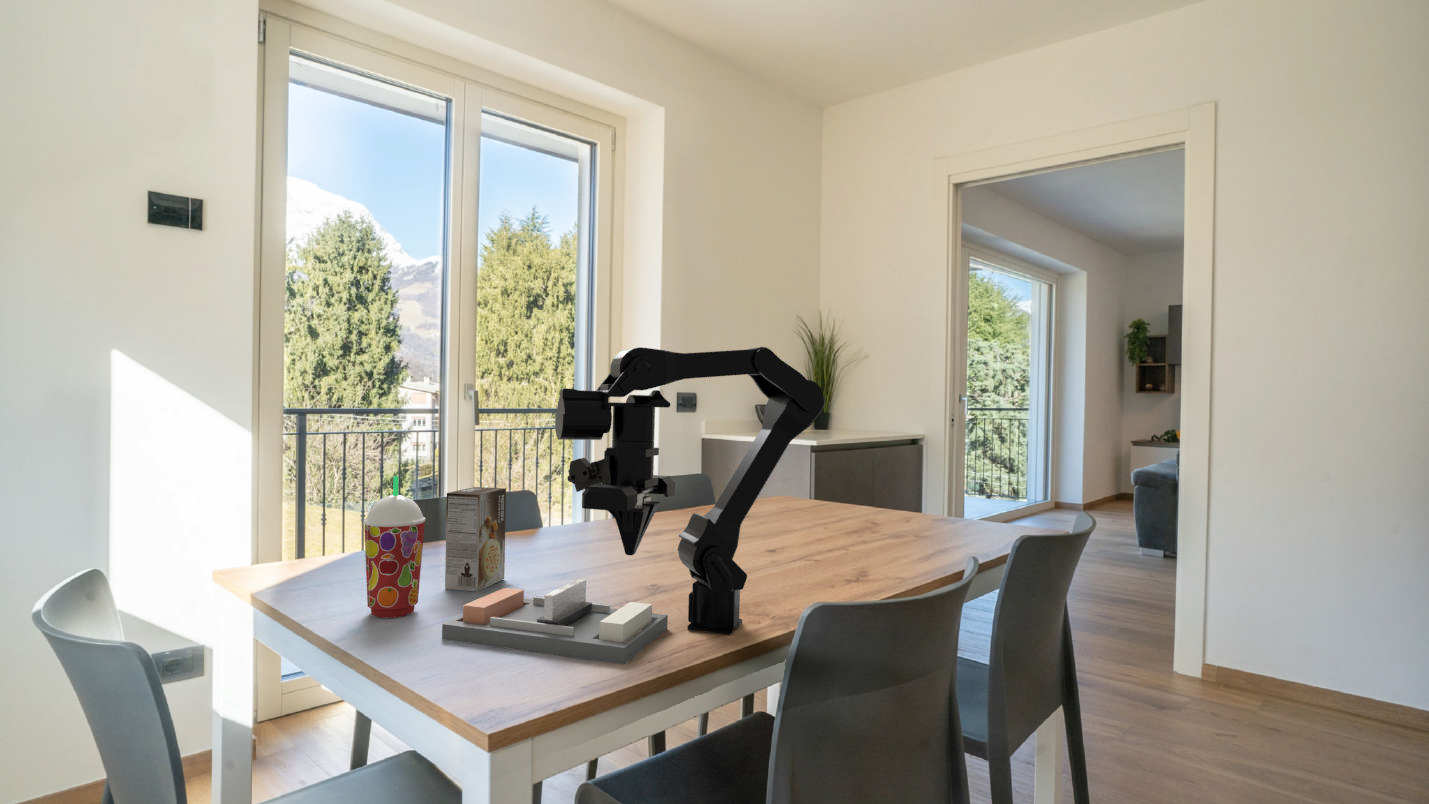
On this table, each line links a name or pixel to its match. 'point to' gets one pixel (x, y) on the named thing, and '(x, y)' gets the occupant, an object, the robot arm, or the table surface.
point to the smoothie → (393, 555)
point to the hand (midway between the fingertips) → (630, 554)
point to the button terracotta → (493, 606)
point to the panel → (554, 633)
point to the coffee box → (475, 538)
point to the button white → (625, 622)
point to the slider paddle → (565, 604)
